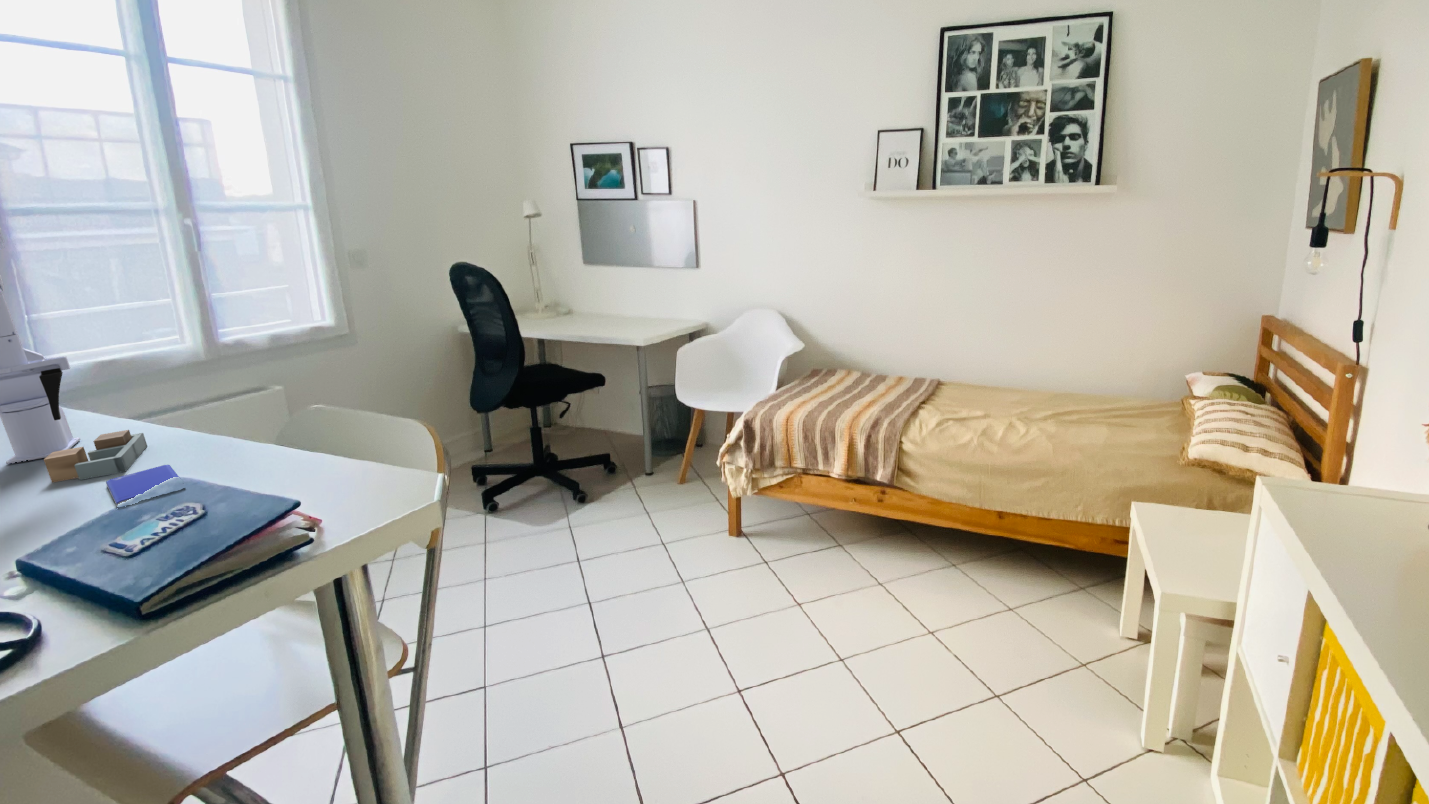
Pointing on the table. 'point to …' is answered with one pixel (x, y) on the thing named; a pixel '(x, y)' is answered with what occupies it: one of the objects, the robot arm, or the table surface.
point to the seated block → (112, 439)
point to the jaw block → (64, 463)
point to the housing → (111, 458)
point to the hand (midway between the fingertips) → (24, 425)
